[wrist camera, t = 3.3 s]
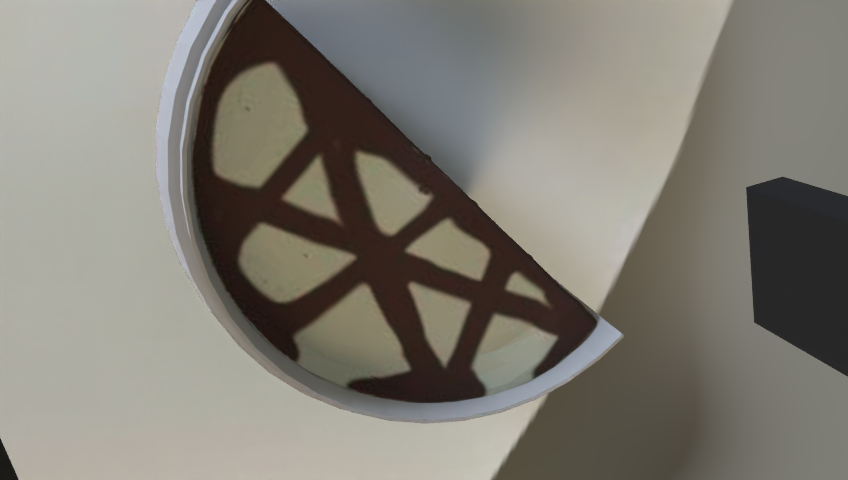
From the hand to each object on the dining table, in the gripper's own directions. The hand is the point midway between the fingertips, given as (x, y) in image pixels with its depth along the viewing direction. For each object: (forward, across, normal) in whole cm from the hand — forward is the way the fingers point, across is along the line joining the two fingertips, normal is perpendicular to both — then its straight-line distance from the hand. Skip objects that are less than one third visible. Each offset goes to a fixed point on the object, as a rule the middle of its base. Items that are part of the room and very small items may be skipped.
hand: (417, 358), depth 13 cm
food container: (+14, 0, 0) cm, 14 cm away
